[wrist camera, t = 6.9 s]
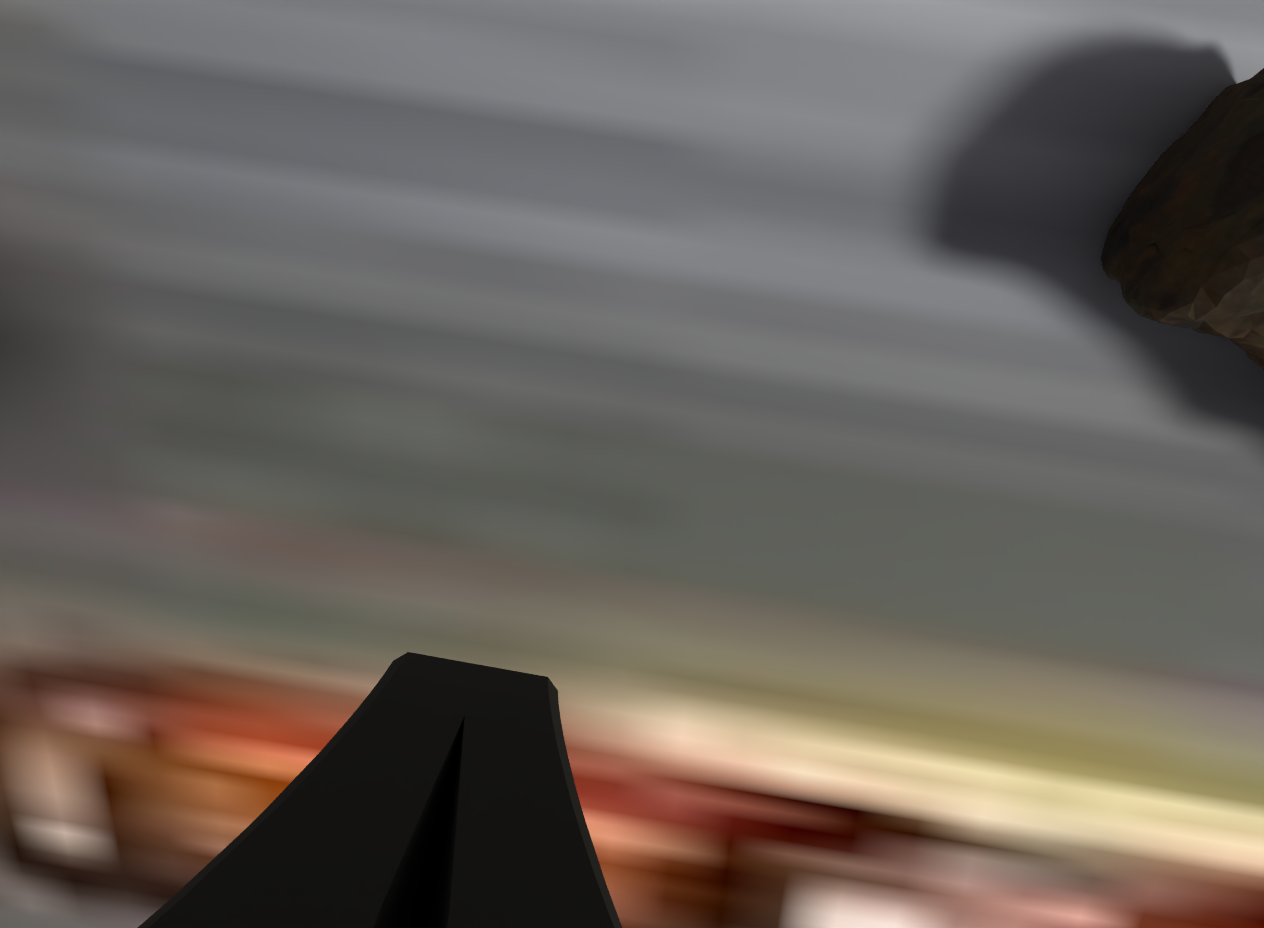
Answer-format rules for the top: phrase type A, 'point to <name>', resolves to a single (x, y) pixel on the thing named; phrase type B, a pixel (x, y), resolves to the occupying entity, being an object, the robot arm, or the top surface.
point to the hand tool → (1201, 226)
